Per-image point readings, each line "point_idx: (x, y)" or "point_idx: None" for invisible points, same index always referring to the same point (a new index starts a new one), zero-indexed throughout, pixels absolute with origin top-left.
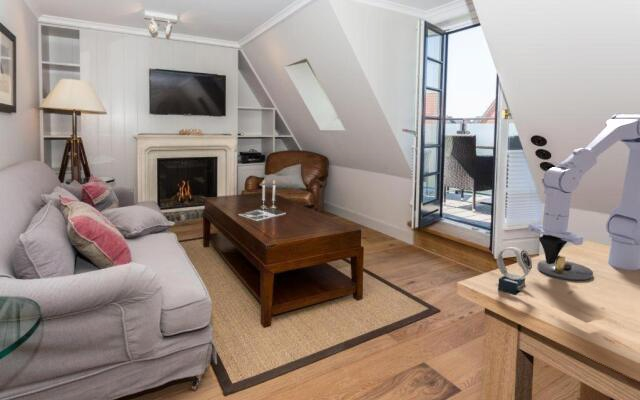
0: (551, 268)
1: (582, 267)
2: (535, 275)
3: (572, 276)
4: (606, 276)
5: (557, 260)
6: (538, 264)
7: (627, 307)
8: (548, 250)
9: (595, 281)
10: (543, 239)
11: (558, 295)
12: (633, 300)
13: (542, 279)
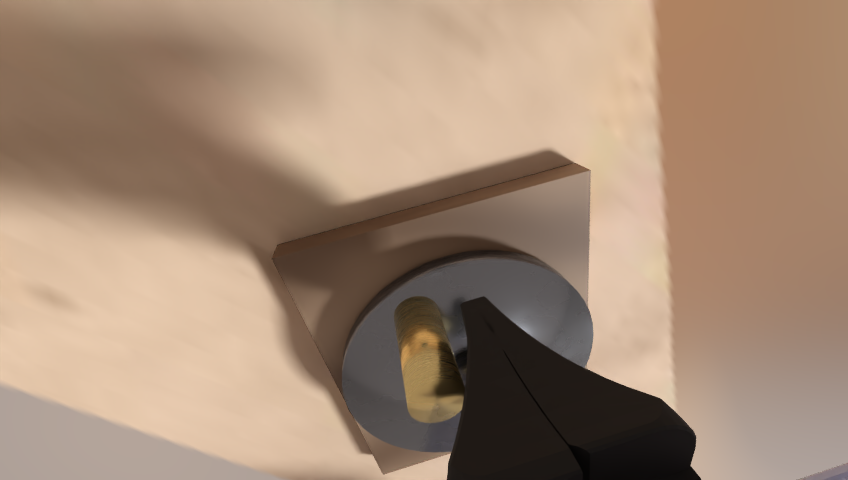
0: None
1: None
2: None
3: (355, 350)
4: (429, 464)
5: (428, 359)
6: (558, 280)
7: (95, 396)
8: (499, 369)
9: None
10: (607, 440)
11: (216, 174)
12: (188, 444)
13: None
